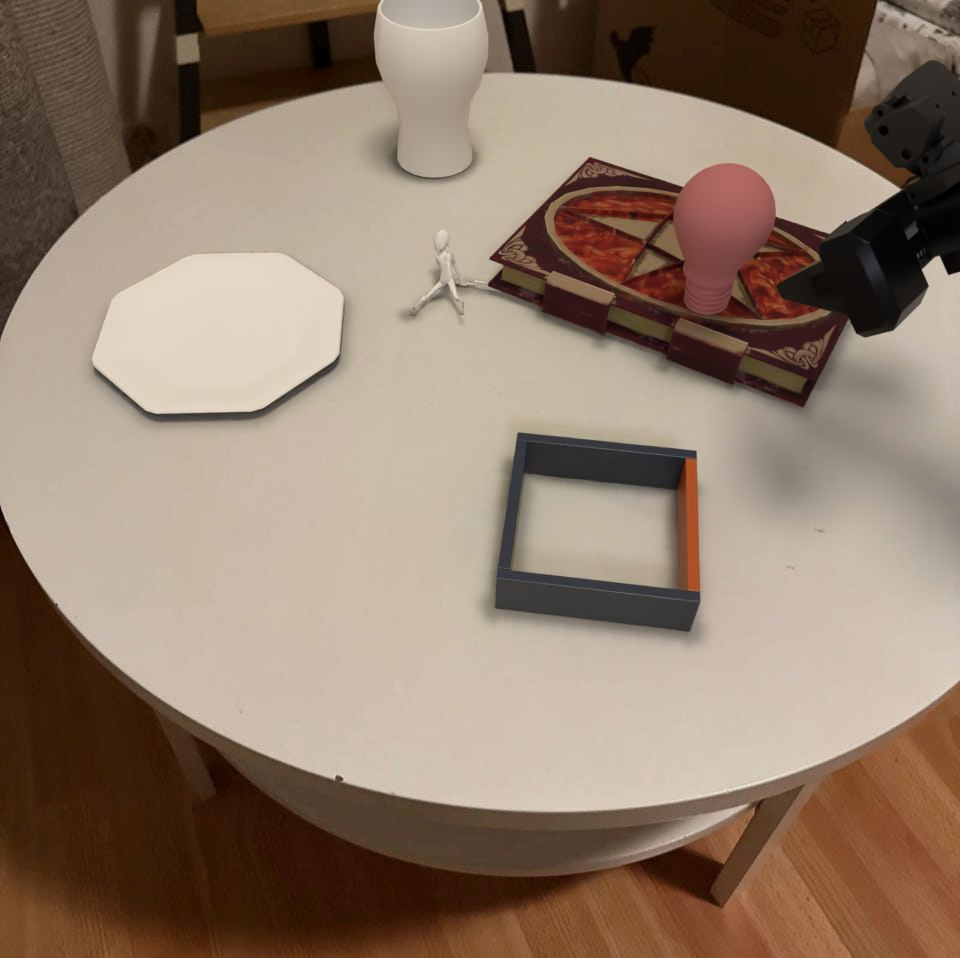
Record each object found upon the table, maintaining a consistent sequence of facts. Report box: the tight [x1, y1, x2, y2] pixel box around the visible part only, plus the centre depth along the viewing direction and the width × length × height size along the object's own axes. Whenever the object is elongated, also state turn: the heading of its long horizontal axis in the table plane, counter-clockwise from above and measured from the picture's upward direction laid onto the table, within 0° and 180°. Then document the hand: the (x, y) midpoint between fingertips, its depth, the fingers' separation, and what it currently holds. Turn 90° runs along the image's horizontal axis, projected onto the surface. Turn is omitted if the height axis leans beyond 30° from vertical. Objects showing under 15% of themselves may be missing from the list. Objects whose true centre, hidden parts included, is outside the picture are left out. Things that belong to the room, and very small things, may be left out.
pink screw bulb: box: [673, 162, 777, 315], centre depth 68 cm, size 7×7×12 cm
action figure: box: [407, 228, 502, 316], centre depth 79 cm, size 12×5×7 cm
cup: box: [373, 0, 489, 179], centre depth 89 cm, size 11×11×15 cm
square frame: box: [494, 431, 701, 632], centre depth 62 cm, size 13×13×4 cm
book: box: [488, 156, 849, 409], centre depth 80 cm, size 28×21×5 cm
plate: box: [91, 252, 345, 417], centre depth 77 cm, size 20×20×2 cm
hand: (815, 261), depth 63 cm, fingers open, 9 cm apart
